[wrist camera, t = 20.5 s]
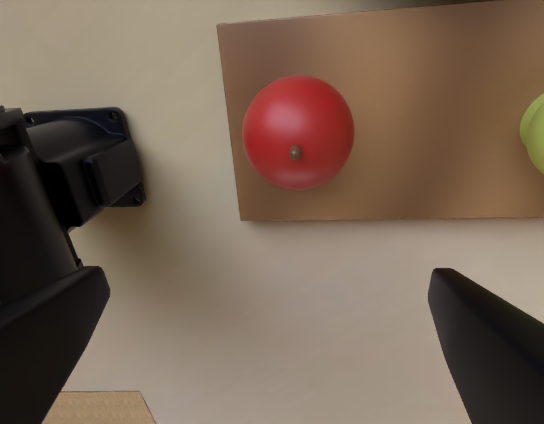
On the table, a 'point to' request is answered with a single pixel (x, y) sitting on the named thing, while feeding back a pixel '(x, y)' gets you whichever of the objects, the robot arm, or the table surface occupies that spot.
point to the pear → (534, 132)
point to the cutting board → (402, 108)
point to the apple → (298, 132)
